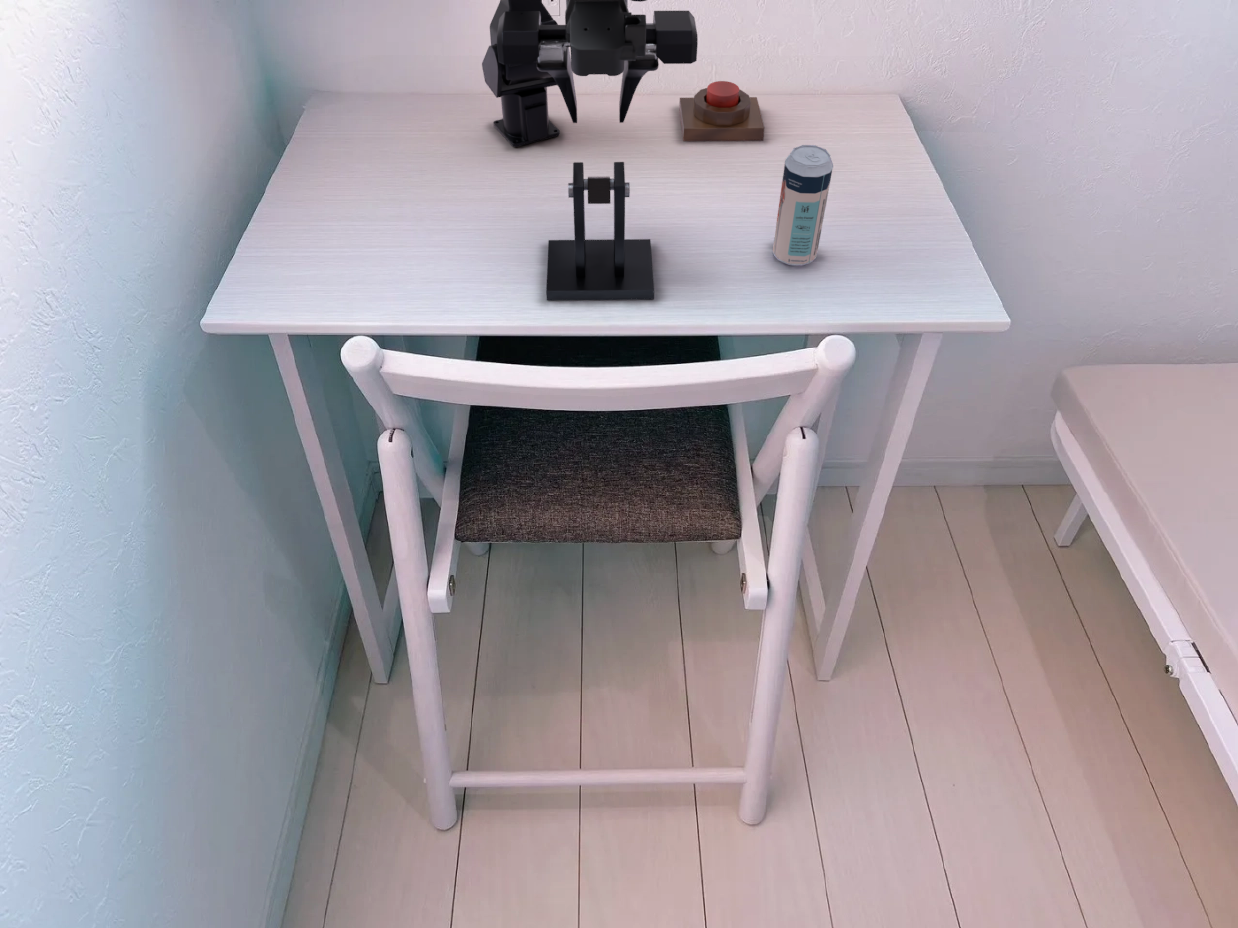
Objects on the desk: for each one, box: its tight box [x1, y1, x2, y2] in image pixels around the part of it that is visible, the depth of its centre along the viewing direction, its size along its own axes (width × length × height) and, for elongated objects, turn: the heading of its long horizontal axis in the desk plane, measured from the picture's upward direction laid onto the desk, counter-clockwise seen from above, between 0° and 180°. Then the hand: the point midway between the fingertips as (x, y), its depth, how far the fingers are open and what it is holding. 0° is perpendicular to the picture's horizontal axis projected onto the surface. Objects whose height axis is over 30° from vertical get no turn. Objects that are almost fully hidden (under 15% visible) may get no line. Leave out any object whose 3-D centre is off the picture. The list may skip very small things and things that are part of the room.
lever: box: [584, 176, 614, 205], centre depth 100 cm, size 11×5×2 cm, turn 1°
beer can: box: [772, 144, 834, 267], centre depth 101 cm, size 5×5×12 cm
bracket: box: [545, 161, 655, 301], centre depth 99 cm, size 9×11×12 cm
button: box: [706, 80, 740, 108], centre depth 122 cm, size 4×4×2 cm
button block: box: [678, 87, 765, 142], centre depth 124 cm, size 10×8×4 cm
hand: (598, 121), depth 99 cm, fingers open, 4 cm apart
